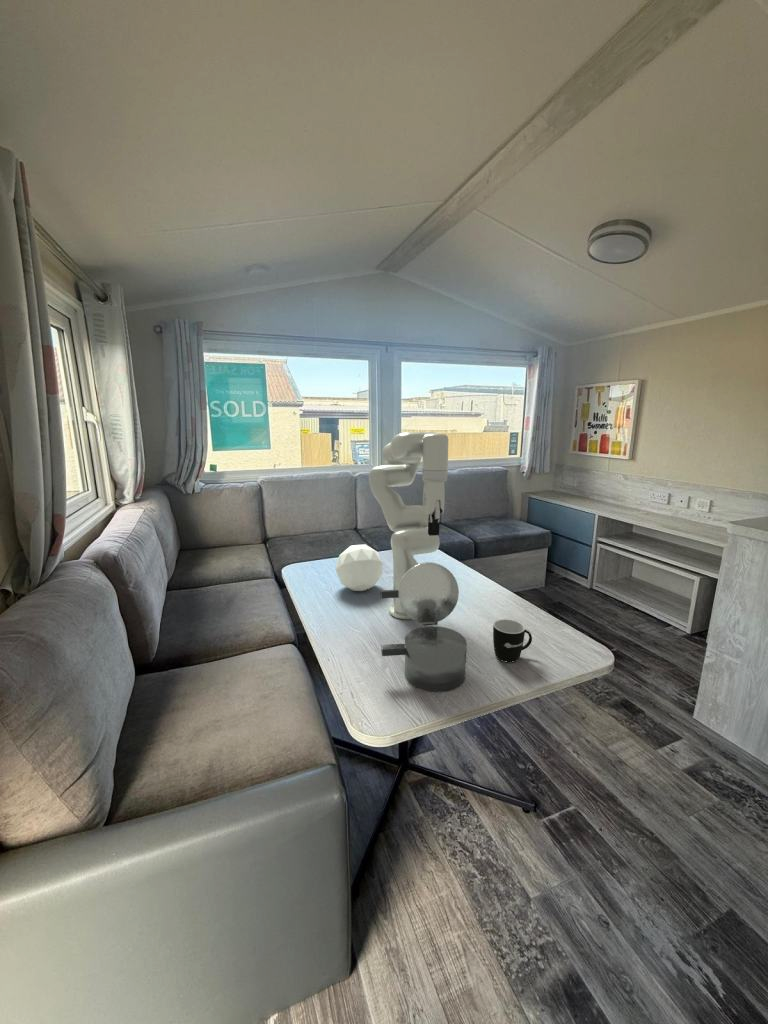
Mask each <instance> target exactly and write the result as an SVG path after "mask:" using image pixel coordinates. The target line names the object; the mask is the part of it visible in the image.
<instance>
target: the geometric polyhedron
mask: <svg viewBox="0 0 768 1024" xmlns="http://www.w3.org/2000/svg"><path fill="white" fill-rule="evenodd" d="M335 566H336V567H335V572H336V574H337V577H338V579H339V581H340V584H341V585H343V586H344V587H346V588H348V589H349V590H351V591H352V592H364V591H368V590H370V589H371V588H373V587H374V586H376V585H377V583H378V582H379V580H380V578H381V577H382V575H383V563H382V560H381V558H380V555H379V552H378V551H377V550H375V549H373V548H372V547H371V546H368V545H367V544H366V543H365V544H354V545H353V544H352V545H350V546H348V548H346V549H344V551H343V552H342V553H340V554H339V556H338V558H337V562H336V565H335ZM367 589H368V590H367Z"/></svg>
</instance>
